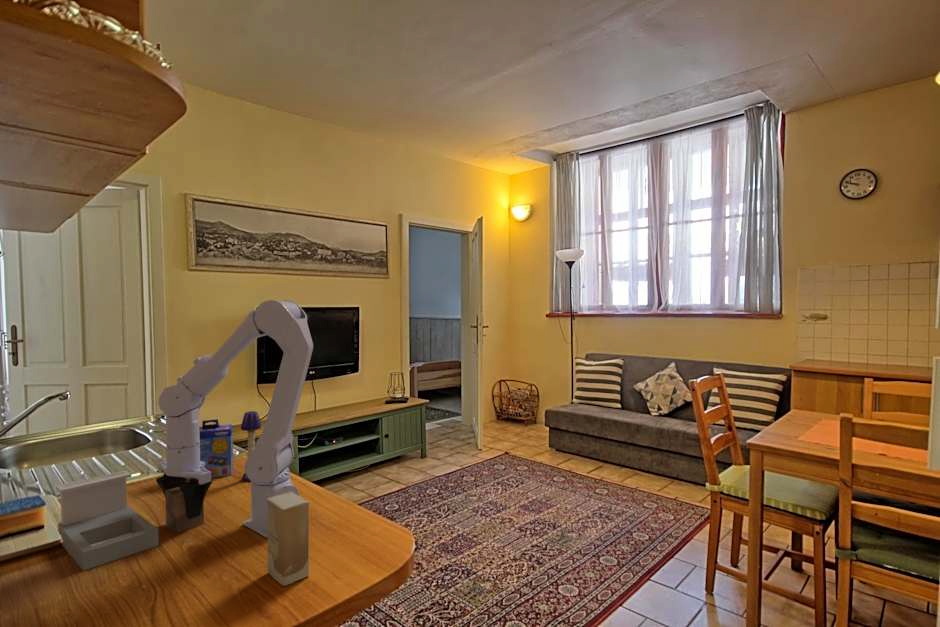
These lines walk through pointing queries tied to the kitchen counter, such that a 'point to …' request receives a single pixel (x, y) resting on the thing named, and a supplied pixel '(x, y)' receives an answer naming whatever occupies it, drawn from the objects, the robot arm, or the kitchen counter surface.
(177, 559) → the kitchen counter surface
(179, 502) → the walnut peg
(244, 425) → the toy lamp
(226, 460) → the ink cartridge box
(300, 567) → the skincare box
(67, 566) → the kitchen counter surface
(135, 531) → the socket block
